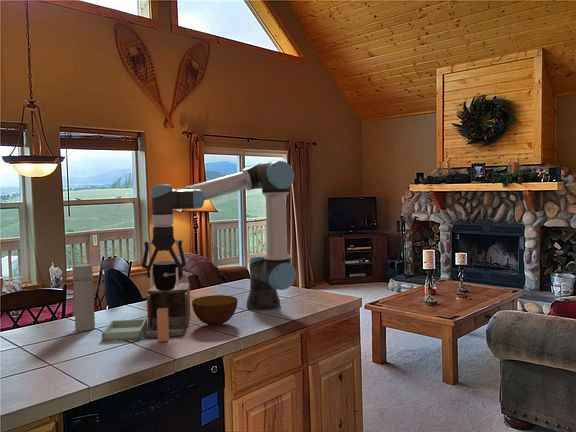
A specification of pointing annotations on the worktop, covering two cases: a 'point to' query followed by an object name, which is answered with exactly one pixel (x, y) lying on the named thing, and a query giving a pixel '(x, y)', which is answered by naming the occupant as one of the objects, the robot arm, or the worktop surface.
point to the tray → (124, 330)
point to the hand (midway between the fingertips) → (164, 285)
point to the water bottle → (83, 297)
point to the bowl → (214, 309)
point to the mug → (165, 275)
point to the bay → (169, 302)
